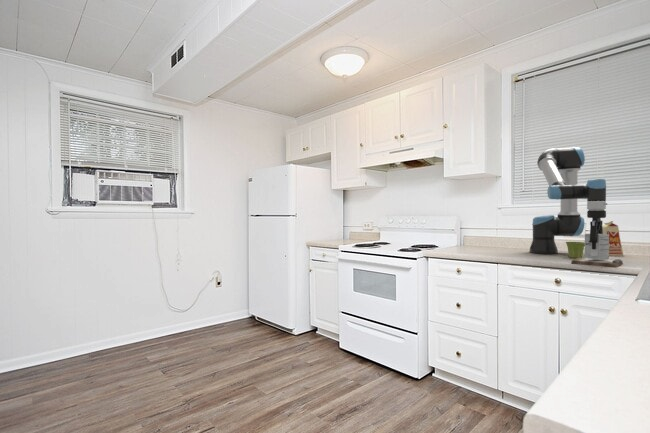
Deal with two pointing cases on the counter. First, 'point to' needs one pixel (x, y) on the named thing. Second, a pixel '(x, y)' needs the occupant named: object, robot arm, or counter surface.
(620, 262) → the brown square frame
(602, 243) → the supplement box
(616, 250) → the milk carton
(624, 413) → the counter surface
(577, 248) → the plant pot
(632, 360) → the counter surface
